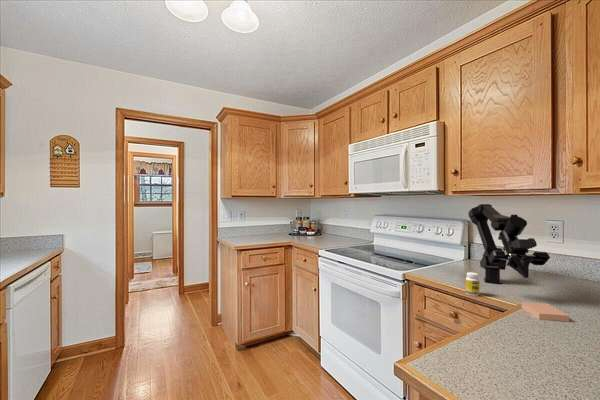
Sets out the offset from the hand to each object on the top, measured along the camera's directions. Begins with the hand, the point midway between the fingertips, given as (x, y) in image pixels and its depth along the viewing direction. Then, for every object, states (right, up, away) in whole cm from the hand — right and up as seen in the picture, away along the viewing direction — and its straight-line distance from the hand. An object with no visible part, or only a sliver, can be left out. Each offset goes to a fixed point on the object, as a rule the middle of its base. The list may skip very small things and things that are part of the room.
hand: (526, 277), depth 102 cm
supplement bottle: (-14, -10, +10) cm, 20 cm away
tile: (-1, -9, -5) cm, 10 cm away
